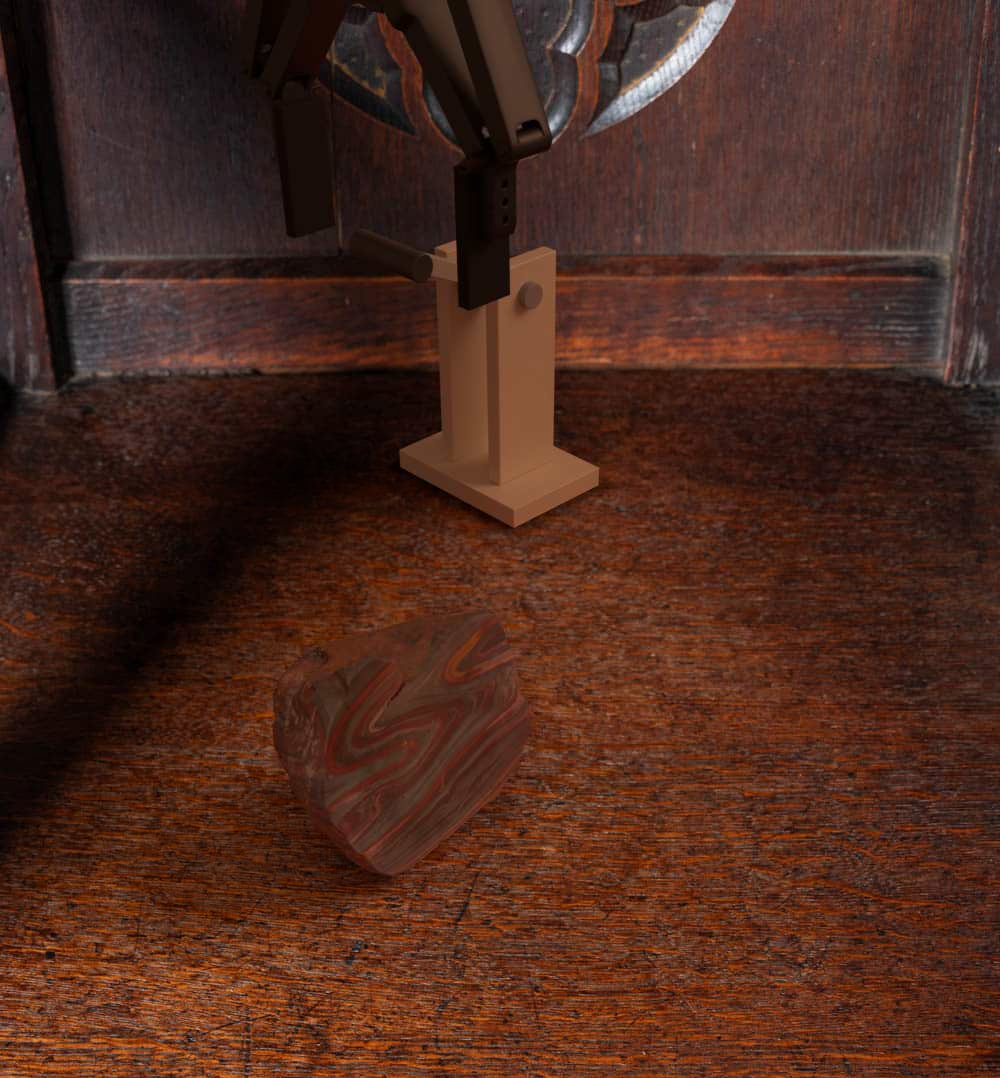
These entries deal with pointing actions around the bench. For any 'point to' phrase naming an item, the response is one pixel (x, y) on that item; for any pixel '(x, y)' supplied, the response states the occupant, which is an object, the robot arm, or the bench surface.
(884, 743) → the bench surface
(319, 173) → the robot arm
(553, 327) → the bracket
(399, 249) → the lever
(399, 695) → the stone
